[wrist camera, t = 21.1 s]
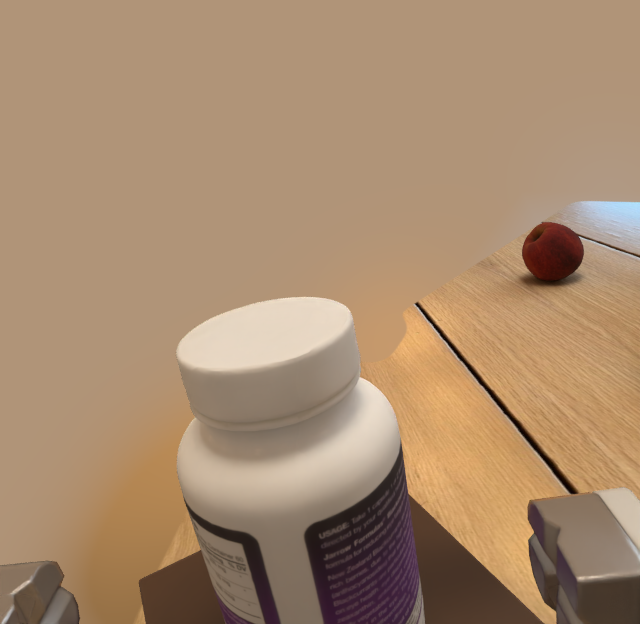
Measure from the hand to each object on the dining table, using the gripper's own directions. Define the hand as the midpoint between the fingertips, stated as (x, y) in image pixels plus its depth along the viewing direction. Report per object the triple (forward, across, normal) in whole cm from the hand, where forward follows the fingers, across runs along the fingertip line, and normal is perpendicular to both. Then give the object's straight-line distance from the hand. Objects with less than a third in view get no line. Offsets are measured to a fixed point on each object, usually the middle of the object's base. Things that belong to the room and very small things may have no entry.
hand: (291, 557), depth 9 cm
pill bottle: (+4, 0, +7) cm, 8 cm away
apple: (+62, -30, +20) cm, 71 cm away
